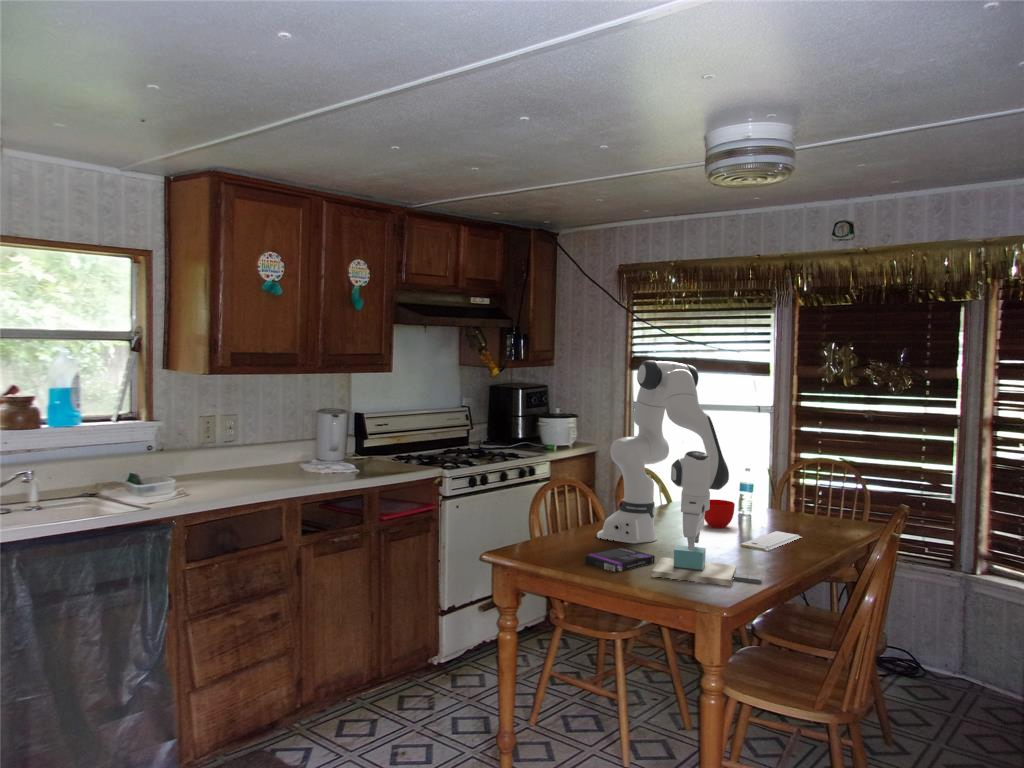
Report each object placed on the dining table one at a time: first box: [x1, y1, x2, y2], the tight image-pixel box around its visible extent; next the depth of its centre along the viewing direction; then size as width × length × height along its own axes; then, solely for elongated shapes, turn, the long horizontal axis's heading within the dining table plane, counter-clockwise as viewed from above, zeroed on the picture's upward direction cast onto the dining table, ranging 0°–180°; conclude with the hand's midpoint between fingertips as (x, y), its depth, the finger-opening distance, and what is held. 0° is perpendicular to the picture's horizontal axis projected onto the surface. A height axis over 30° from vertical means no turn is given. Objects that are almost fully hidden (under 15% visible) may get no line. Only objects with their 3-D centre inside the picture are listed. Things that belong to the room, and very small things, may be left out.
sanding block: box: [673, 544, 707, 572], centre depth 254 cm, size 9×6×6 cm
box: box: [584, 546, 656, 573], centre depth 265 cm, size 14×4×20 cm
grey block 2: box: [746, 574, 762, 585], centre depth 247 cm, size 4×4×2 cm
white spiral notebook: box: [739, 530, 803, 552], centre depth 299 cm, size 31×3×12 cm
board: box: [651, 557, 737, 587], centre depth 253 cm, size 24×18×2 cm
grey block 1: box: [733, 572, 749, 583], centre depth 248 cm, size 4×4×2 cm
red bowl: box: [704, 499, 735, 529], centre depth 327 cm, size 13×17×10 cm
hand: (693, 546), depth 253 cm, fingers open, 8 cm apart
